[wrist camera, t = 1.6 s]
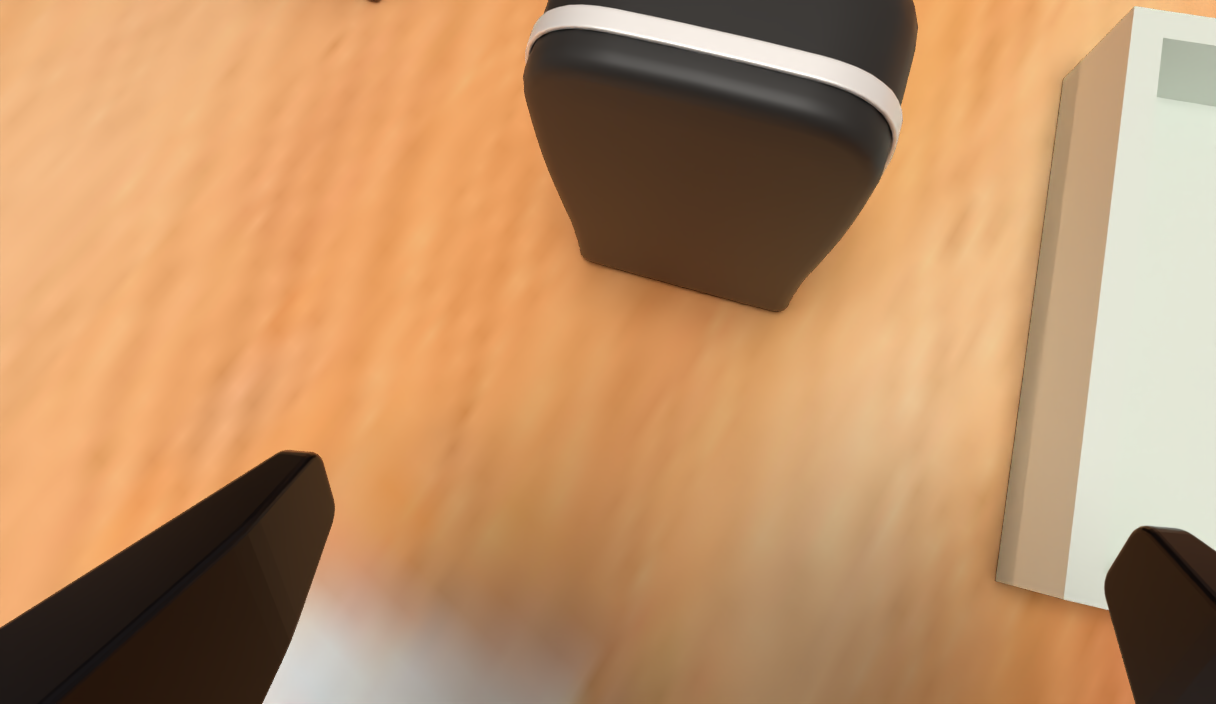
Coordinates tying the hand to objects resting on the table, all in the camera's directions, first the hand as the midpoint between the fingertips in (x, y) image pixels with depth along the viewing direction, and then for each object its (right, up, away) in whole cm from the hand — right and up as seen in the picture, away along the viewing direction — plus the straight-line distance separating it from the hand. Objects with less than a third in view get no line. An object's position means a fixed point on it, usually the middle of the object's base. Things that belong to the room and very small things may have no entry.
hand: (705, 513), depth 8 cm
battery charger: (+2, +5, +15) cm, 16 cm away
